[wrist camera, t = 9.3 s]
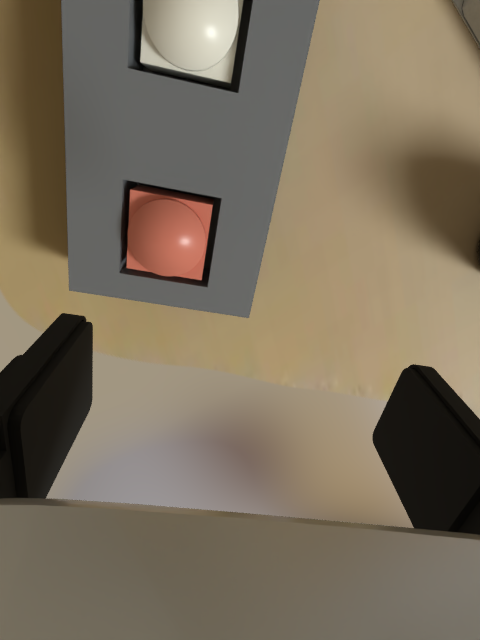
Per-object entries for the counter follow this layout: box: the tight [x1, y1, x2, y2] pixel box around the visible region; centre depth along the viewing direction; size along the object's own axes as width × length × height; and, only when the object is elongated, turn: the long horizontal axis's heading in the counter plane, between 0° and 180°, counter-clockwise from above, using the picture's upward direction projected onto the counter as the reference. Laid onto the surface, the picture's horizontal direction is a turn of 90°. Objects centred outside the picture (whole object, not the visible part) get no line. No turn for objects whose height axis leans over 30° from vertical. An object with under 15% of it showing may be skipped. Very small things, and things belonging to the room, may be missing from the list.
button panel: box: [61, 0, 320, 318], centre depth 23 cm, size 22×13×5 cm, turn 169°
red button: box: [126, 185, 214, 280], centre depth 25 cm, size 5×5×3 cm
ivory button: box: [140, 0, 244, 89], centre depth 20 cm, size 5×5×3 cm
